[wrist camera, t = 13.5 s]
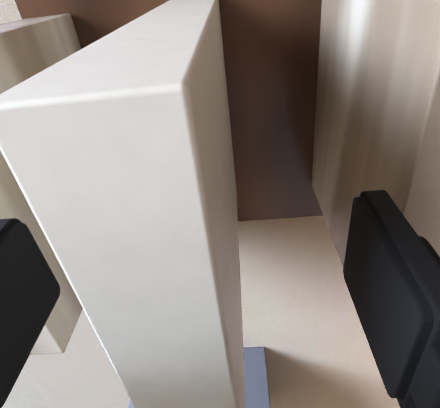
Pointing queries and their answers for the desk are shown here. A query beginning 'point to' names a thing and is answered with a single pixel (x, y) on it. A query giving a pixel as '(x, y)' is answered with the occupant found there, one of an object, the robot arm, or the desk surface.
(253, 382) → the grey books
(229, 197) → the thin book
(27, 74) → the letter rack
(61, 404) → the desk surface
